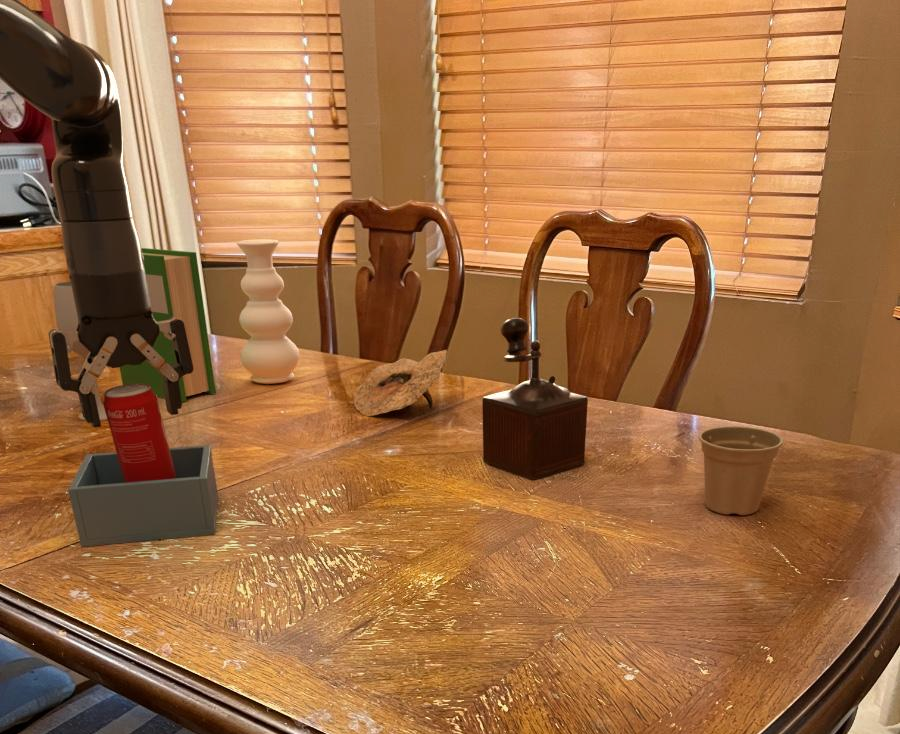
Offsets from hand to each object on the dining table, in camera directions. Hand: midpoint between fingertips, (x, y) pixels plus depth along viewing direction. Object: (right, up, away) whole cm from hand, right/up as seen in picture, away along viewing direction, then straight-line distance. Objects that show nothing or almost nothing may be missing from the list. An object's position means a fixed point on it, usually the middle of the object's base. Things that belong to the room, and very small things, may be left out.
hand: (135, 419), depth 97 cm
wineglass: (-23, +11, +48) cm, 54 cm away
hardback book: (-16, +18, +62) cm, 66 cm away
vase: (+2, +21, +68) cm, 71 cm away
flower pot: (+69, -9, +7) cm, 70 cm away
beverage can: (0, -10, +6) cm, 12 cm away
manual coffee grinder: (+46, -1, +24) cm, 52 cm away
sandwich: (+27, +12, +49) cm, 57 cm away
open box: (0, -11, +6) cm, 12 cm away
